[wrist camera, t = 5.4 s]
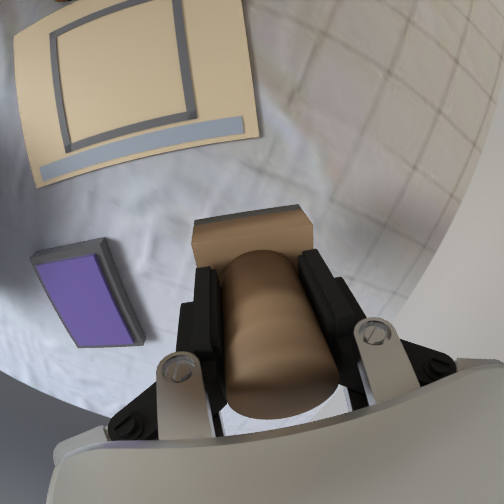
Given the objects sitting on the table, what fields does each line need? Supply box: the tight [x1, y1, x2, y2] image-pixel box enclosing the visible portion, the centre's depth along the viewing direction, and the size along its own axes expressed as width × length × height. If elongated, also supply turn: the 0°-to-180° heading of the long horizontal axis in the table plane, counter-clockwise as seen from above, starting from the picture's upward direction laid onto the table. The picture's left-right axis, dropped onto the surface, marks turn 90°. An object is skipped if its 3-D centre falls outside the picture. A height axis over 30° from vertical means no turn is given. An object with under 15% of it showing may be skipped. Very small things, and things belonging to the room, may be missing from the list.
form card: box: [14, 0, 259, 189], centre depth 15 cm, size 14×18×1 cm
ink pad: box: [30, 237, 145, 348], centre depth 23 cm, size 11×8×2 cm
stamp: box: [191, 204, 340, 420], centre depth 11 cm, size 5×5×8 cm
